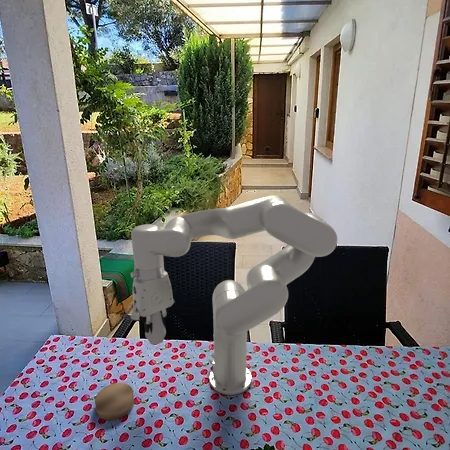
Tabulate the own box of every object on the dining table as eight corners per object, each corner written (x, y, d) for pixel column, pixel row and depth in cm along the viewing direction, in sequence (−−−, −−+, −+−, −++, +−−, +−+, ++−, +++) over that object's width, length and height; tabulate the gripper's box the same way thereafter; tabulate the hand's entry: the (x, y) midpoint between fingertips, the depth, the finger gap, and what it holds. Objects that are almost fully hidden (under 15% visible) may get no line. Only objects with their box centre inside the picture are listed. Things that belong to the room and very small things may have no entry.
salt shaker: (162, 347, 93) (158, 305, 90) (142, 345, 95) (137, 304, 91) (169, 335, 99) (166, 295, 95) (151, 333, 100) (147, 293, 96)
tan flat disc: (90, 403, 94) (89, 395, 93) (124, 385, 100) (123, 377, 100) (105, 427, 87) (103, 417, 86) (140, 406, 93) (139, 397, 92)
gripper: (127, 285, 83) (135, 350, 88) (183, 266, 93) (187, 325, 98) (114, 276, 88) (122, 337, 93) (168, 258, 98) (172, 314, 104)
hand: (155, 330), depth 96 cm, fingers closed on salt shaker, 3 cm apart
